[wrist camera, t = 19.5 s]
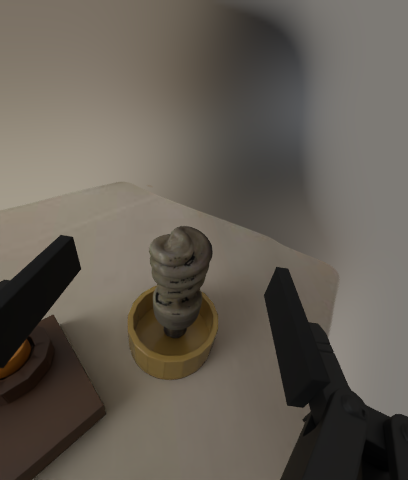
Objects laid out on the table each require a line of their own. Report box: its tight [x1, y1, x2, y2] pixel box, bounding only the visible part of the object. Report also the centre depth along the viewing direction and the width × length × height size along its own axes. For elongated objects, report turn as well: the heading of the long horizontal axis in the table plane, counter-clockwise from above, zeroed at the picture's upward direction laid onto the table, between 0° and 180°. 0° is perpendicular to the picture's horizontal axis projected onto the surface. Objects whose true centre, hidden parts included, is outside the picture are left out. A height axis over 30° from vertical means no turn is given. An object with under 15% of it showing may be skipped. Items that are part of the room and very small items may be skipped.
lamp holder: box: [128, 286, 218, 380], centre depth 26 cm, size 10×10×4 cm
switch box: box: [0, 315, 106, 480], centre depth 19 cm, size 12×9×4 cm
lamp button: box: [0, 339, 31, 379], centre depth 19 cm, size 4×4×2 cm
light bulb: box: [149, 226, 212, 338], centre depth 23 cm, size 6×6×15 cm
